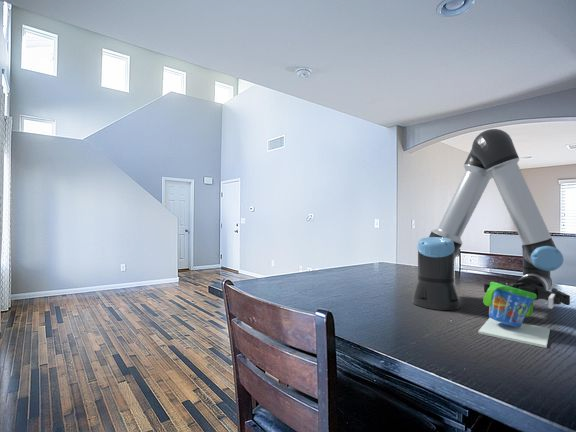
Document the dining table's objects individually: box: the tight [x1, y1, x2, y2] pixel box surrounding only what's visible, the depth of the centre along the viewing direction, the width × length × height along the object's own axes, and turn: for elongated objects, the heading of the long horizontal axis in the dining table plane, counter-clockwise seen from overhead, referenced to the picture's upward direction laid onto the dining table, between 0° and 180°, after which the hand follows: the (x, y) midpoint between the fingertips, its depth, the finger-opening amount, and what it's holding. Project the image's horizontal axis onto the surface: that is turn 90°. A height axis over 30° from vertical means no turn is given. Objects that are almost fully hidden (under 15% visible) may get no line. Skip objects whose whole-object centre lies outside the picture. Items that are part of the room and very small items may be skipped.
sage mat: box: [477, 317, 551, 349], centre depth 85 cm, size 16×14×1 cm
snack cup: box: [482, 281, 537, 327], centre depth 88 cm, size 16×10×10 cm
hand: (518, 298), depth 87 cm, fingers open, 13 cm apart
